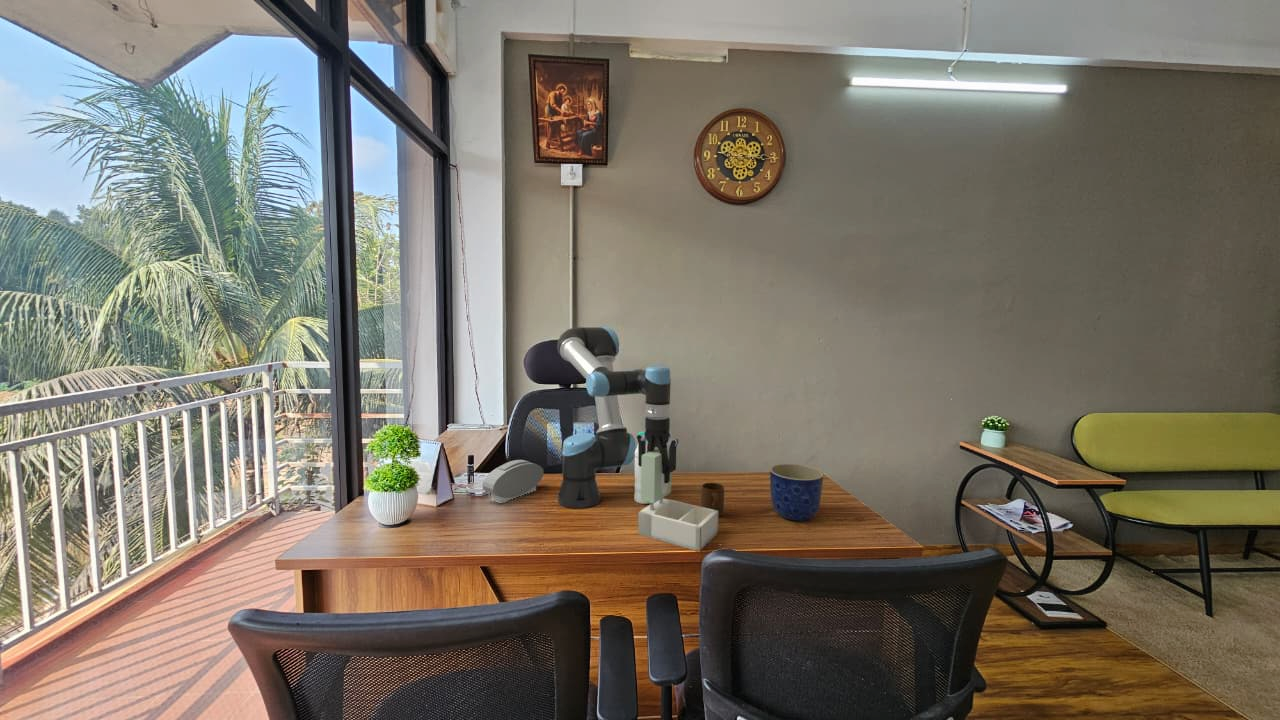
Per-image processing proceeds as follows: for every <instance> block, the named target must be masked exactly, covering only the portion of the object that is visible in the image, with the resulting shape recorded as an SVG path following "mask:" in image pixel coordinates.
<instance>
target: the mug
mask: <svg viewBox="0 0 1280 720" xmlns="http://www.w3.org/2000/svg"><path fill="white" fill-rule="evenodd" d="M700 490H701V492H700V494H701V495H700V507H704V508H709V509H713V510H718V518H719V517H722V516H723V515H724V508H725V506H724V504H725V487H724V485H723V484H720V483H717V482H705V483H702V485H701V489H700Z"/></svg>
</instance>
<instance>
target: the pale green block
mask: <svg viewBox="0 0 1280 720" xmlns="http://www.w3.org/2000/svg"><path fill="white" fill-rule="evenodd" d="M667 453H668V458H669V448H668V447H667ZM662 472H664V471H663V466H662V454H660V451H659V450H658V448H657V447H655V449H654V451H652V452H647V453H645V454H643V455H642V466H641V501H646V502H650V503H656V502H657V501H659V500H660V499H662V498H665V497H666V496H668V495H669V494H671V493H672V472H670V481H669V483H667V492H666V493H664V494H661V473H662ZM650 503H649V504H650Z"/></svg>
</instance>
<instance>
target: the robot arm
mask: <svg viewBox="0 0 1280 720" xmlns="http://www.w3.org/2000/svg"><path fill="white" fill-rule="evenodd" d="M557 351H558V354H559V356H560V357H561V358H562V359H563V360H564V361H567V362H569V363H571V365H572V366H573V367H574V368H575V369H576V370H577V371H578V373H580V374H581V376H582V377H583V378H584V379H585V380H586V381H585V387H586V390H587V393H588V395H589V396H591V397H594V401H595V407H596V412H597V413H596V414H597V422H598V429H597V430H596V433H595V434H596V435H595V434H594V433H590V432H585V433H582V432H581V433H576V434H573V435H570V436H568V437H566V438H565V439H564V441H563V444H562V452H561V453H562V482H561V484H560V487H559V491H558V494H557V502H558V504H559V505H560V506H563V507H565V508H569V509H570V508H571V509H585V508H591V507H593V506H596V505H597V504H599V503H600V502H601V492H600V489H599V486H598V482H597V480H596V479H597V478H596V471H598V470H604V469H610V468H620V467H625V466H628V465H630V464H631V463H632V462H633V461H634V459H635V450H636V448H637V445H638V465H639V466H640V467H641V466H642V455H643V454H645V453H646V441H645V440H646V439H647V441H648V446H647V452H652V451H654V449H656V448H658V450H659V451H660V454H662V466H663V471H664V472H662V473H661V494H664V493H666V492H667V483H669V481H670V472H671V473H672V472H674V471H676V469H677V446H678V443H679V439H678V438H676V439H675V438H673V437H671V434H670V427H671V425H670V423H671V422H670V421H671V420H670V416H671V403H670V401H671V382H672V380H671V370H670V368H669V367H668V366H663V365H662V366H660V365H658V366H657V365H655V366H653V365H651V366H647V367H646V369H641V368H640V369H637V368H635V369H631V370H621V371H620V370H619V371H617V370H616V371H615V370H614V367H613V366H614V365H613V363H614V362H615V360H616V358H617V356H618V354H619V352H620V341H619V338H618V335H617V333H616V331H615V330H613V328H611V327H603V326H599V327H595V326H594V327H593V326H592V327H588V326H587V327H586V326H585V327H580V326H578V327H572V328H568V329H566V330H565V331H564V332H563V333H562V334H560V336H559V338H558V340H557ZM625 395H626V396H627V395H644V396H645V416H646V417H645V419H644V420H645V422H644V426H645V427H644V428H645V431H644V432H645V433H644V434H640V435H638V434H637V435H636V438H634V435H633V434H632V433H630V432H628V428H627V427H626V426H625V425H624V424H623V423H622V417H621V415H622V414H621V410H620V409H621V408H620V404H619V398H618V396H625ZM635 439H637V442H638V443H637V445H636V440H635ZM667 444H668V445H669V448H668V445H667ZM667 448H668V449H669V458H668V453H667Z"/></svg>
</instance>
